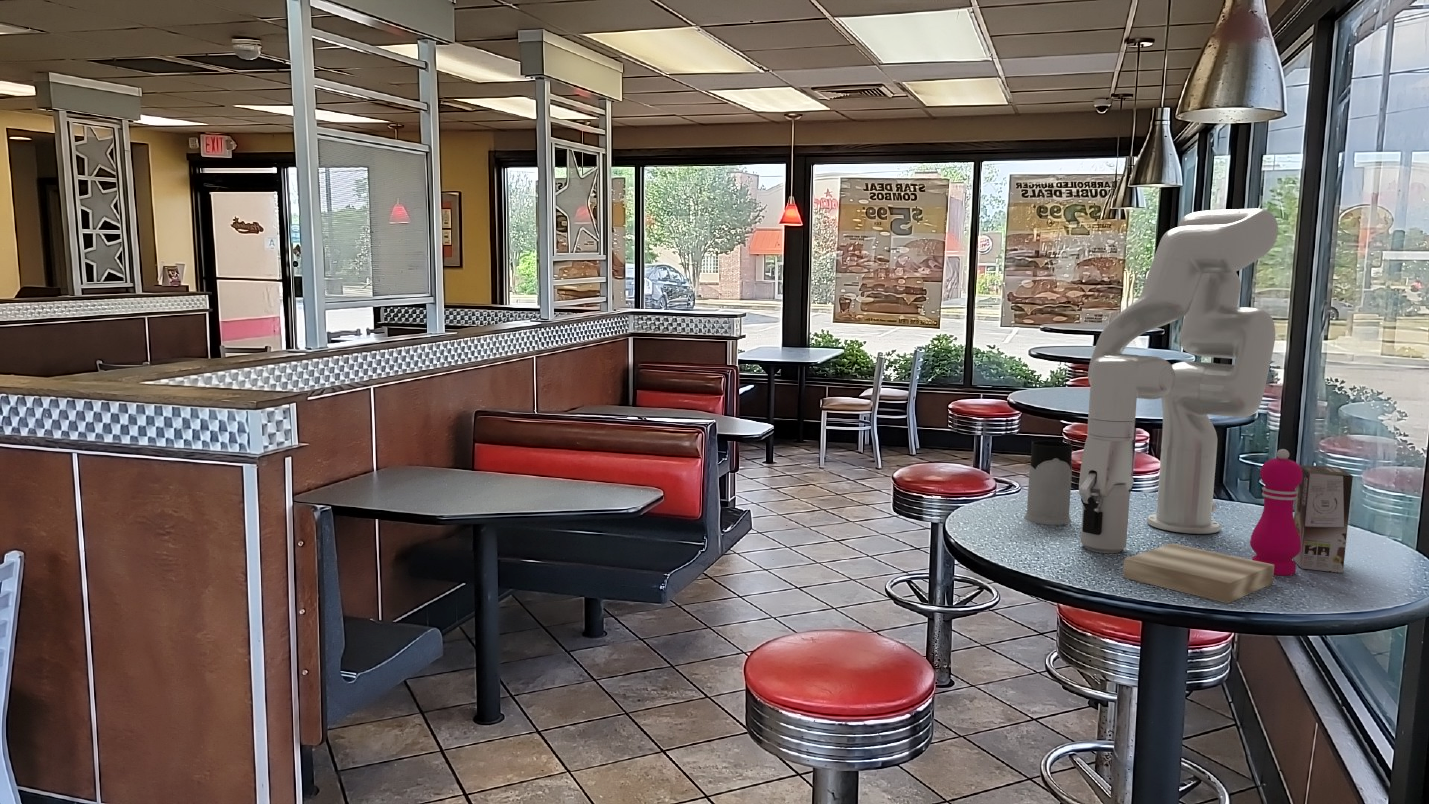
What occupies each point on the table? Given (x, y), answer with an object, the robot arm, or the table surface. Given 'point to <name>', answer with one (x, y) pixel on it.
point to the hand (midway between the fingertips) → (1104, 529)
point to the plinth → (1199, 572)
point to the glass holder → (1049, 483)
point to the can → (1110, 522)
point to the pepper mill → (1278, 515)
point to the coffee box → (1322, 517)
